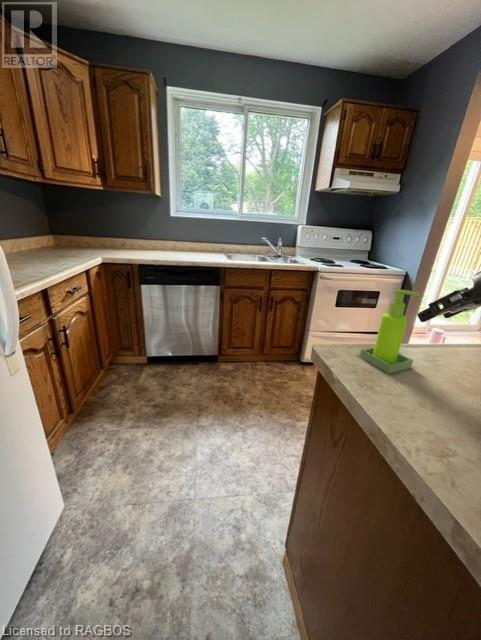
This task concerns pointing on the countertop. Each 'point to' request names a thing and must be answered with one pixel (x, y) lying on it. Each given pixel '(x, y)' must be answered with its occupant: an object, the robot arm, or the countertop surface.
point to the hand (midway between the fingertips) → (432, 316)
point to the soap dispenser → (392, 329)
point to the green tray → (400, 364)
